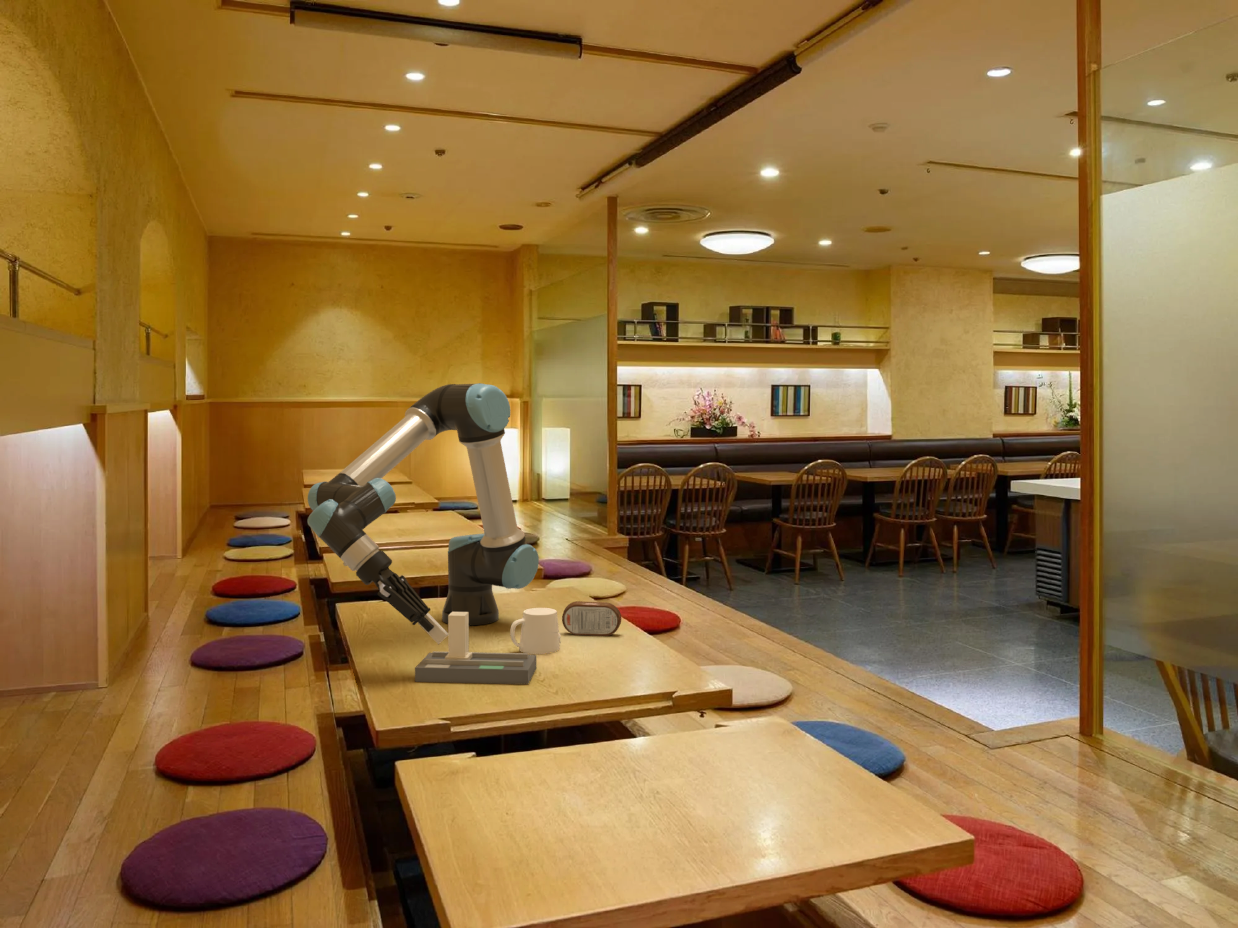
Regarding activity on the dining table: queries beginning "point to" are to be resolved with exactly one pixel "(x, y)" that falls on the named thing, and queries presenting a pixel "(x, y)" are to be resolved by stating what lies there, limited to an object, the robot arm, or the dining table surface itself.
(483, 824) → the dining table surface
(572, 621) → the tin
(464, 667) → the switch panel
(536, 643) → the mug
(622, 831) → the dining table surface
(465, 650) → the slider tab
